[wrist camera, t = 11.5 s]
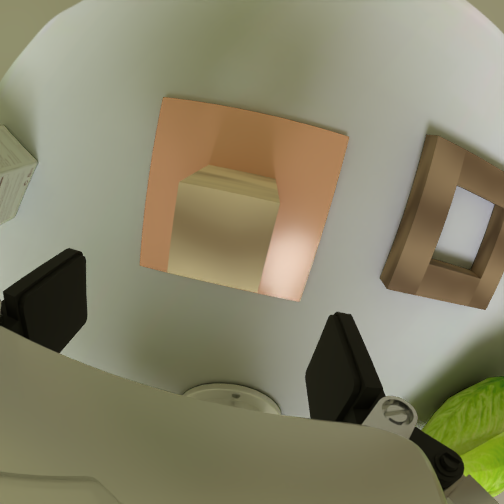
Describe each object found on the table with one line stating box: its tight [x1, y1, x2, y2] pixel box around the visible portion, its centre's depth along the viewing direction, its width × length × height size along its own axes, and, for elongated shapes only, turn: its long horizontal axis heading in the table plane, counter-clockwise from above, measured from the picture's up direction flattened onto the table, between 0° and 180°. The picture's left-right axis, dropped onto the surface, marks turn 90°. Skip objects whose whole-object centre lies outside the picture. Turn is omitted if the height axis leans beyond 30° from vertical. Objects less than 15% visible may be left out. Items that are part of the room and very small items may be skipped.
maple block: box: [167, 165, 280, 293], centre depth 19 cm, size 5×5×8 cm
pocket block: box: [380, 135, 504, 310], centre depth 22 cm, size 13×13×2 cm
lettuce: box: [421, 376, 504, 497], centre depth 24 cm, size 19×25×17 cm
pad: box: [140, 97, 349, 302], centre depth 23 cm, size 14×14×1 cm
